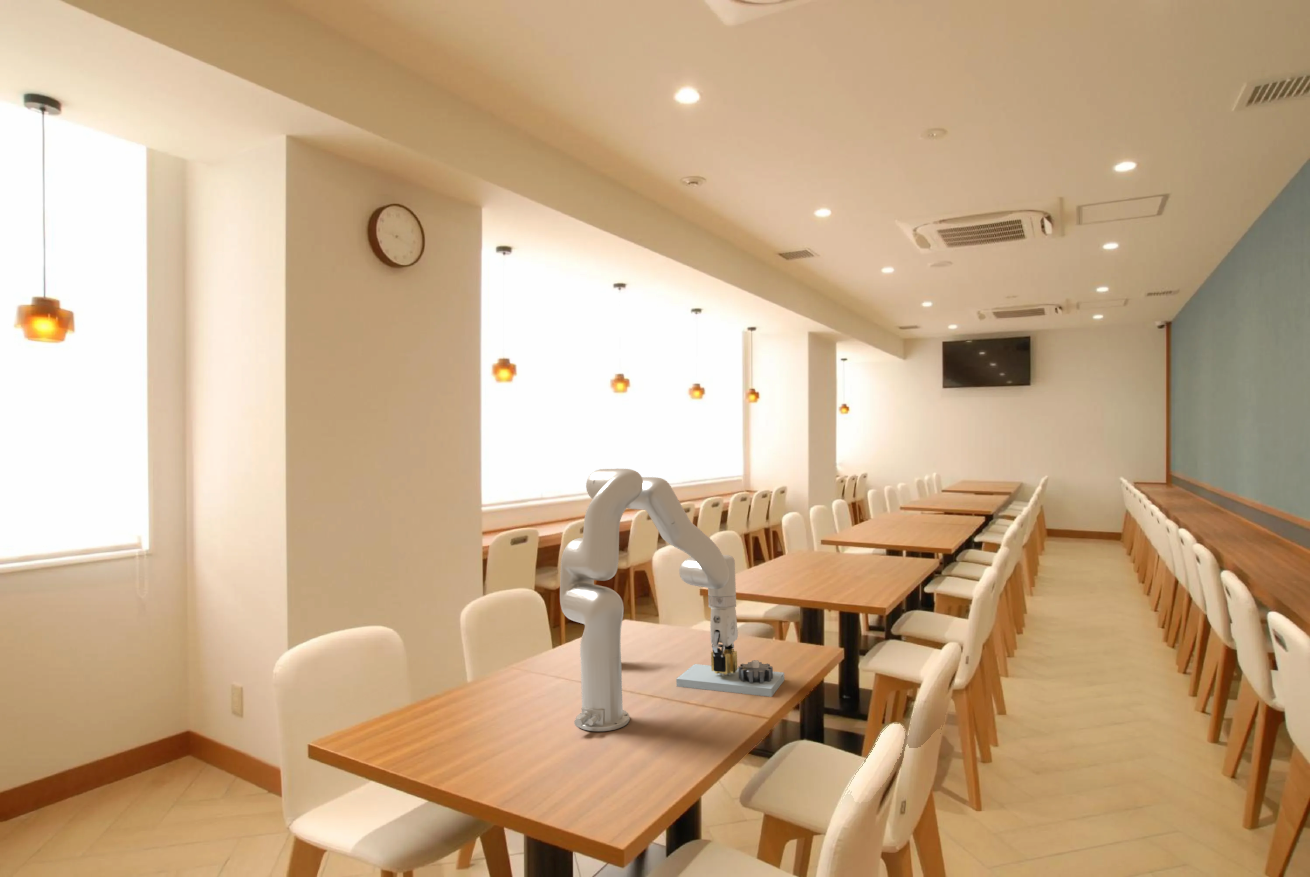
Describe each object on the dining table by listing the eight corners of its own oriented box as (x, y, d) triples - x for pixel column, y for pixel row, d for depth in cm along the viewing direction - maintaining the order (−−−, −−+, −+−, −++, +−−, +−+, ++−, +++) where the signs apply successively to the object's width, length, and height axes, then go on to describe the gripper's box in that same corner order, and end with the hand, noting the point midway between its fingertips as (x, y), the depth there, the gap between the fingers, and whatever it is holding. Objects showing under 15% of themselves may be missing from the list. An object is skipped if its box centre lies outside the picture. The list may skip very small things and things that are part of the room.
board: (771, 696, 179) (770, 671, 179) (676, 686, 190) (675, 661, 190) (784, 680, 192) (783, 655, 192) (694, 671, 202) (694, 648, 203)
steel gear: (767, 685, 182) (767, 673, 182) (734, 681, 186) (734, 670, 186) (776, 674, 190) (775, 663, 190) (744, 671, 194) (744, 660, 194)
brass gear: (732, 675, 187) (732, 656, 187) (708, 672, 190) (707, 654, 190) (740, 667, 193) (739, 649, 193) (716, 665, 196) (716, 647, 196)
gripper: (725, 608, 182) (727, 678, 182) (744, 595, 198) (746, 659, 198) (698, 606, 185) (700, 675, 185) (719, 594, 201) (721, 657, 201)
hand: (724, 666), depth 191 cm, fingers closed on brass gear, 6 cm apart
